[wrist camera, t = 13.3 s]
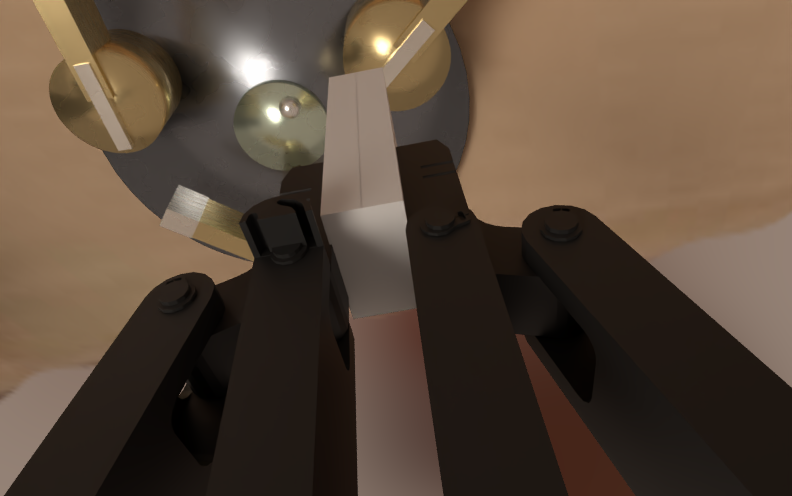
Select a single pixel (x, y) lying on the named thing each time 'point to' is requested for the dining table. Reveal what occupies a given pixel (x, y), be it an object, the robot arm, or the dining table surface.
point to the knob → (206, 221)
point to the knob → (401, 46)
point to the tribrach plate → (256, 97)
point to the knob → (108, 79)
